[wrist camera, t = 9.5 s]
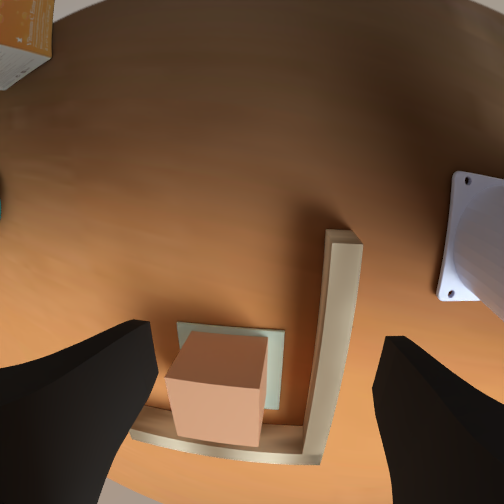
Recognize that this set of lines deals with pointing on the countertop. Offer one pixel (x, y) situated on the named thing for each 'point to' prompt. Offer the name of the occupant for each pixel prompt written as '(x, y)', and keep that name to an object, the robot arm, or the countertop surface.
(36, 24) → the small box
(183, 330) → the pad
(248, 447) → the l-shaped wall
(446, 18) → the countertop surface
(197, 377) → the cube
